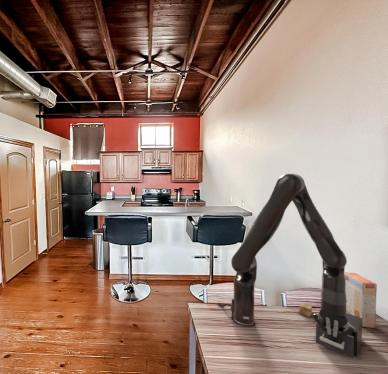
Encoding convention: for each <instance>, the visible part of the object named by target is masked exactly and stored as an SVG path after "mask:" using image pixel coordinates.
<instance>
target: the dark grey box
mask: <svg viewBox="0 0 388 374" xmlns="http://www.w3.org/2000/svg"><path fill="white" fill-rule="evenodd" d="M346 318H347V319H348V323H349V324H350V325H352V326H354V327H355V330H354V332H353V333H355V334H354V357H358V355H359V351H360V348H361V344H362V342H363V327H362V318H360V317H357V316H354V315H351V314H348V313H346ZM321 320H322V321H323V322H324V320H323V319H322V317H321ZM341 328H342V329H344V330H345V329H346V325H344V326H343V327H341Z"/></svg>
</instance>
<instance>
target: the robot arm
mask: <svg viewBox="0 0 388 374" xmlns="http://www.w3.org/2000/svg"><path fill="white" fill-rule="evenodd" d="M291 203H292V204H294V206H295V208H296V210H297V213H298V215H299V217H300V220H301V222H302V225H303V226H304V229H305V230H306V232H307V234H308V236H309V237H310V239H311V241H312V242H313V243H314V246H315V247H316V250H317V252H318V255H319V256H320V258H321V260H322V262H321V263H322V275H321V289H320V309H319V311H318V312H314V313H313V314H312V318H313V319H314V321H315V322H316V324H317V323H318V325H319V326H320V328H321V329H322V330H323V331H325V332H327V334H328V340H331V341H333V342H336V343H338V337H341V338H343V337H345V336H347V335H348V334H350V333H352V332H354V330H355V327H354V326H352V325H350V324H349V323H348V319H347V318H346V303H347V300H346V280H345V275H344V272H345V269H346V268H345V267H346V265H347V263H348V261H347V260H348V259H347V256H346V254H345V252H344V251H343V250H342V249H341V247H340V246H339V244H338V243H337V242H336V240H335V237H334V235H333V233H332V231H331V229H330V228H329V226H328V225H327V223H326V221H325V220H324V218H323V217H322V215H321V213H320V212H319V210H318V209H317V207H316V205H315V204H314V202H313V200H312V198H311V196H310V194H309V191H308V189H307V186H306V183H305V180H304V178H303V177H302V176H301V175H300V174H297V173H285V174H283V175H281V176H280V177H278V179H277V181H276V183H275V186H274V188H273V190H272V192H271V194H270V196H269V198H268V200H267V202H266V203H265V204H264V206H263V207H262V209H261V210H260V212H259V214H258V215H257V217H256V218H255V220H254V221H253V223H252V225H251V227H250V228H249V231H248V232H247V233H246V234H247V235H246V236H245V238H244V240H243V242H242V243H241V245H240V246H239V248H238V249H237V250H236V252H235V253H234V254H233V255H232V257H231V263H230V264H231V267H232V269H233V270H234V271H235V272H236V274H235V275H234V277H233V297H232V299H231V303H224V304H222V303H220V302H218V304H217V305H218V306H220V307H222V308H223V307H230V311H231V319H232V320H233V321H234V322H236V323H237V324H238V325H242V326H246V327H247V326H248V327H250V326H253V325H254V324H255V287H256V286H255V285H256V282H257V273H258V261H257V259H256V258H257V257H256V256H257V254H258V253H259V252H260V251H261V250H262V249H263V248H264V247H265V246H266V245H267V244H268V243H269V242H270V241H271V239H273V237H274V235H275V234H276V232H277V230H278V229H279V227H280V225H281V223H282V221H283V218H284V215H285V212H286V210H287V208H288V207H289V205H290V204H291ZM321 317H322V319H323V320H324V322H325V323H326V325H325V324H324V322H323V321H322V320H321ZM344 325H346V329H345V330H343V331H341V332H338V331H339V328H341V327H343V326H344ZM326 326H327V327H326ZM332 326H333V327H334V328H333V330H332ZM332 332H333V333H332Z"/></svg>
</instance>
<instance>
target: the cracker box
mask: <svg viewBox="0 0 388 374" xmlns="http://www.w3.org/2000/svg"><path fill="white" fill-rule="evenodd" d="M344 275H345V280H346V300H347V303H346V313H348V314H351V315H354V316H357V317H360V318H362V328H368V329H376V323H377V322H376V321H377V290H378V289H377V287H378V286H377V285H378V284H377V283H375V282H373V281H372V280H369V279H368V278H366V277H364V276H362V275H360V274H358V273H356V272H346V271H344Z"/></svg>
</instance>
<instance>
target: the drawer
mask: <svg viewBox="0 0 388 374" xmlns="http://www.w3.org/2000/svg"><path fill="white" fill-rule="evenodd" d="M324 324H325V325H326V323H325V322H324ZM326 327H327V326H326ZM333 328H334V327H333V326H332V330H333ZM343 330H344V329H342V328H339V331H338V332H341V331H343ZM332 333H333V332H332ZM354 334H355V333H353V332H352V333H350V334H348V335H347V336H345V337H343V338H341V337H338V343H336V342H333V341H331V340H328V334H327V332H325V331H323V330H322V329H321V328H320V326H319V325H318V323H317V322H316V324H315V344H318V345H320V346H323V347H325V348H327V349H329V350H332V351H334V352H337V353H338V354H341V355H344V356H346V357H348V358H351V359H354V357H355V356H354Z"/></svg>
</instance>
